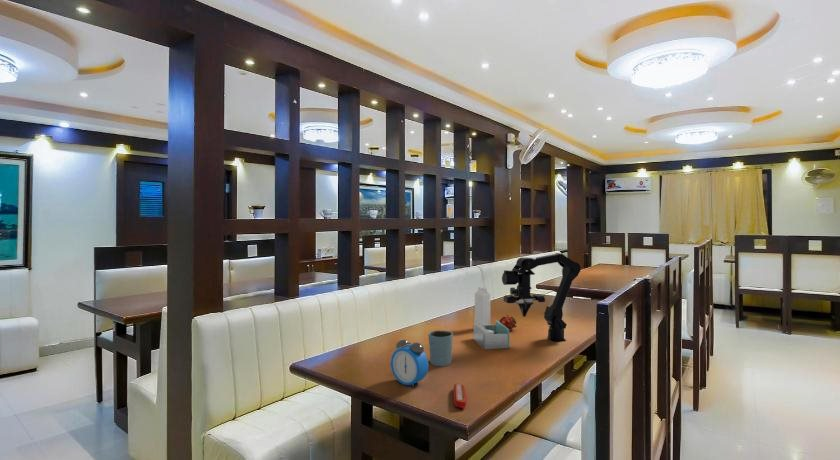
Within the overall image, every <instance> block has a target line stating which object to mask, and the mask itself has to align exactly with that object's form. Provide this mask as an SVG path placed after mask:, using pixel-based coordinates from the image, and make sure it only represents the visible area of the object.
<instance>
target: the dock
mask: <svg viewBox="0 0 840 460" xmlns="http://www.w3.org/2000/svg"><path fill="white" fill-rule="evenodd" d="M472 327H473V331H472V334H473V340H474V341H475V342H476V343H477V344H478V345H479V346H480V348H482V350H495V349H496V350H498V349H509V348H508V334H491V333H490V332H489V331H488V330H492V331H494V332H496V324H490V325H481V324H475V323H474V325H473V326H472Z"/></svg>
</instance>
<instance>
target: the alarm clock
mask: <svg viewBox="0 0 840 460" xmlns="http://www.w3.org/2000/svg"><path fill="white" fill-rule="evenodd" d="M395 348H396V349H395V350H394V351H393V353H392V355H391V357H390V368H391V371H392V374H393V376H394V378H395V379H396V380H397V381H398V382H397V383H400V384H402V385H405V386H412V388H414V385H415V384H416V383H418V382H420V381H422V380H424V379H425V378H426V376H427V374H428V372H429V360H428V358H427V355H426V353H425V351H424V350H425V349H424V345H423V344H422V343H419V342H417V341H416V342H412V343H411V342H409V341H408V340H407V339H399V341H397V342H396V344H395Z"/></svg>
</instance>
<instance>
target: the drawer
mask: <svg viewBox="0 0 840 460" xmlns="http://www.w3.org/2000/svg"><path fill="white" fill-rule="evenodd" d="M499 321H500V320H499ZM499 321H498V320H495V325H496V332H494V334H508V348H507V349H509V348H510V331H509V329H508V328H507V327H505V326H504V325H503V324H501V323H500V322H499Z"/></svg>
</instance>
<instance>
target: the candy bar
mask: <svg viewBox="0 0 840 460" xmlns="http://www.w3.org/2000/svg"><path fill="white" fill-rule="evenodd" d="M453 385H454V386H453V404H454V405H453V406H454V407H456V408H459V409H463V410H464V409H466V405H467V397H466V390H465V385H463V384H461V383H456V382H455V383H454V384H453Z"/></svg>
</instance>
